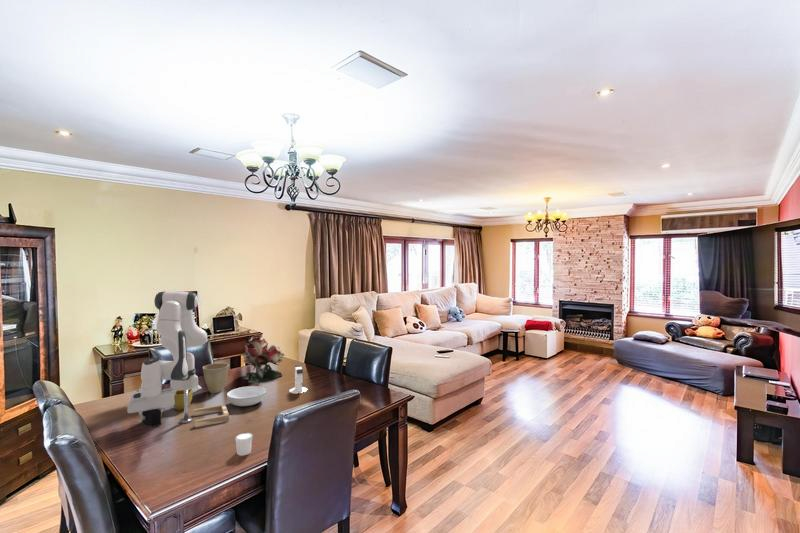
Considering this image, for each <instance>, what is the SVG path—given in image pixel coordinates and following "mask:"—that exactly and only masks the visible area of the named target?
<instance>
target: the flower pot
mask: <svg viewBox="0 0 800 533" xmlns="http://www.w3.org/2000/svg"><path fill="white" fill-rule="evenodd" d="M193 394H194V392H193V389H188V407H189V406H190V405H191V402H192V400H193ZM174 401H175V404H174V406H173V408H175V410H177V411H179V410H180V411H181V410H184V390H177V391H175V396H174Z"/></svg>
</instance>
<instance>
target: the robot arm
mask: <svg viewBox="0 0 800 533" xmlns="http://www.w3.org/2000/svg"><path fill="white" fill-rule="evenodd" d="M198 304H199V297H198V295H197V293H196V292H191V291H166V290H165V291H159V292H158V293H156V295H155V298H154V306H155V307H156V309H157V310H158V311H159V312H158V315H157V320H156V321H157V322H156V331H157V333H158V334H159V335H160V339H159V340H160V341H159V342H160V344H161V346H162V347H163V348H164V349H166V350H168V351H169V353H170V354H171V355H172V358H173V360H161V359H160V357H149V358H147V359H145V360H143V362H142V363H141V364H142V365H141V371H140V379H141V385H140V388H138V389H135V390H133V391H132V392H131V393H130V397H129V400H128V402H127V408H126V409H127V410H126V412H127V413H128V414H135V413H138V415H139V416H140V417H141V421H142V420H145V415H143V414H142V412H143V411H148V410H154V409H159V410H161V414H162V413H163V412H164V410H165V408H171V407H174V404H175V401H174V396H175V391H177V390H188V389H193V393H195V392H197V391H200V390H202V386H201V385H199V377H198V375H196V368H195V355H194V354H193V353H191V352H188V351H187V348H192V347H193V348H194V347H198V346H200V347H201V346H202V345H205V344H206V342H207V341H208V333H207V332H206V330H204V329H202V328H201V327H199V326H198V325H197V323H196V322H195V320H194V313H193V312H194V310H195V309H196V308H197V307H198ZM163 380H164V381H166V380H168V381H170V382H169V384H170V386H169V388H162V387H163V383H162V381H163Z"/></svg>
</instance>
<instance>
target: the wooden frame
mask: <svg viewBox="0 0 800 533" xmlns="http://www.w3.org/2000/svg"><path fill="white" fill-rule="evenodd" d="M219 412H220V413H222V414H220V415H214V416H211V417H210V416H209V417H205V418H200V419H199V418H198V419H195V420H194V427H195V428H200V427H205V426H210V425H211V426H212V425H216V424H220V423H226V422H229V420H230V414H229V412H228V408H227V406H226V405H225V404H224V403H223V404H222V403H221V404H216V405H210V406H206V407H200V408H193V409H192V413H193V414H192V416H193V417H197V416H204V415H207V414H213V413H214V414H215V413H219Z"/></svg>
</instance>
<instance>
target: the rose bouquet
mask: <svg viewBox="0 0 800 533" xmlns="http://www.w3.org/2000/svg"><path fill="white" fill-rule="evenodd" d="M247 341H248V343H245V345H244V348H245V351H244V353H243V354H242V357H243V361H242V362H243V363H245V364H248V365H250V366H252V367H253V369H252V372H250V371H249V372H246V373H245V374H246V375H245V376H244V377H243V378H242V380H248V381H247V382H248V383H250V384H252V385H257V384H260V383H265V382H269V381H271V380H272V379H276V378H279V377H281V376H283V373H282V372H281V371H278V370H274V369H273V368H272V367H271V365H270V364H273V365H275V366H280V364H281V363H282V362H283V357H284V356H285V353H283V352H282V351H283V350H282V349H281V348H280V346H279V345H276V344H272V345H269V343H268V341H267V339H265V336H264V335H262V334H254V335H253V336H251V337H250V340H247ZM268 345H269V346H268ZM279 363H280V364H279ZM262 366H264V367H263V368H262ZM254 370H255V372H254Z"/></svg>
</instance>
